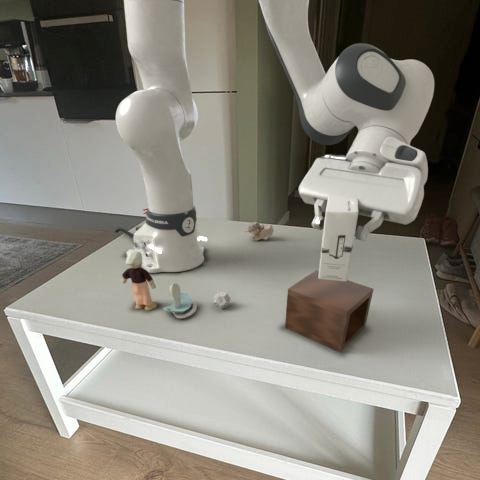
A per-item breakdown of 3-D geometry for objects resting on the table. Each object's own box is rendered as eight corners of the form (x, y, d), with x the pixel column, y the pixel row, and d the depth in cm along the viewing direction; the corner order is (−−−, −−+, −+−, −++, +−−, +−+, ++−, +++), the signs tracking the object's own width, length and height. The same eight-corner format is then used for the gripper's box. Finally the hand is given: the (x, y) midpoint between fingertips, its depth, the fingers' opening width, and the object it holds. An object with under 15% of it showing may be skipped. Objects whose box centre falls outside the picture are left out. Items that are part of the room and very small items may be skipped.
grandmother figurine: (163, 302, 80) (155, 248, 73) (158, 311, 77) (149, 255, 70) (129, 300, 81) (118, 246, 74) (123, 310, 78) (110, 254, 70)
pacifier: (202, 305, 79) (177, 300, 81) (201, 280, 75) (175, 275, 77) (186, 323, 73) (160, 317, 75) (184, 297, 70) (157, 291, 71)
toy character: (251, 242, 113) (243, 224, 111) (275, 233, 110) (268, 215, 108) (249, 247, 110) (241, 229, 107) (273, 238, 107) (266, 220, 104)
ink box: (320, 257, 68) (327, 193, 61) (348, 259, 67) (358, 194, 60) (317, 279, 61) (324, 210, 54) (347, 282, 60) (359, 212, 53)
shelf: (284, 327, 72) (287, 288, 67) (312, 307, 78) (316, 269, 73) (340, 352, 65) (347, 311, 60) (365, 328, 71) (373, 288, 66)
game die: (218, 300, 81) (217, 288, 79) (233, 304, 79) (233, 292, 78) (210, 308, 78) (209, 296, 76) (226, 312, 77) (225, 299, 75)
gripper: (314, 141, 64) (278, 210, 63) (436, 154, 53) (395, 238, 52) (324, 164, 69) (291, 228, 69) (437, 180, 58) (399, 257, 57)
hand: (337, 233), depth 60 cm, fingers closed on ink box, 6 cm apart
